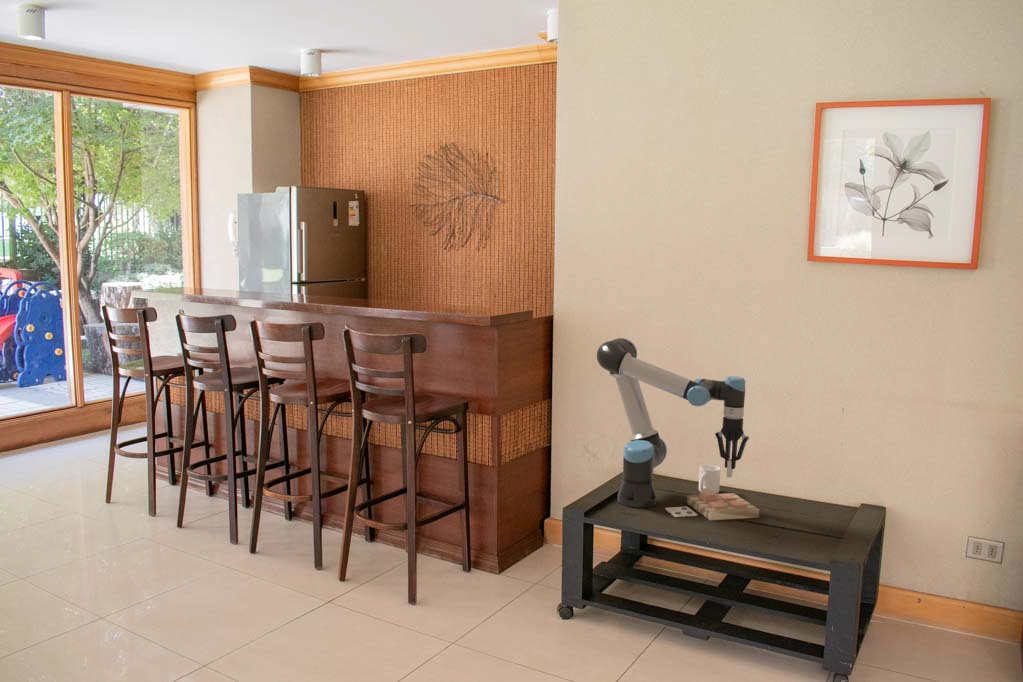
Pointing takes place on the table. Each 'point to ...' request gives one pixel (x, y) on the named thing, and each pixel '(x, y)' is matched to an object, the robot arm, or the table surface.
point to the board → (723, 514)
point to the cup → (709, 478)
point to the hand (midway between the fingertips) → (729, 476)
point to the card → (681, 511)
